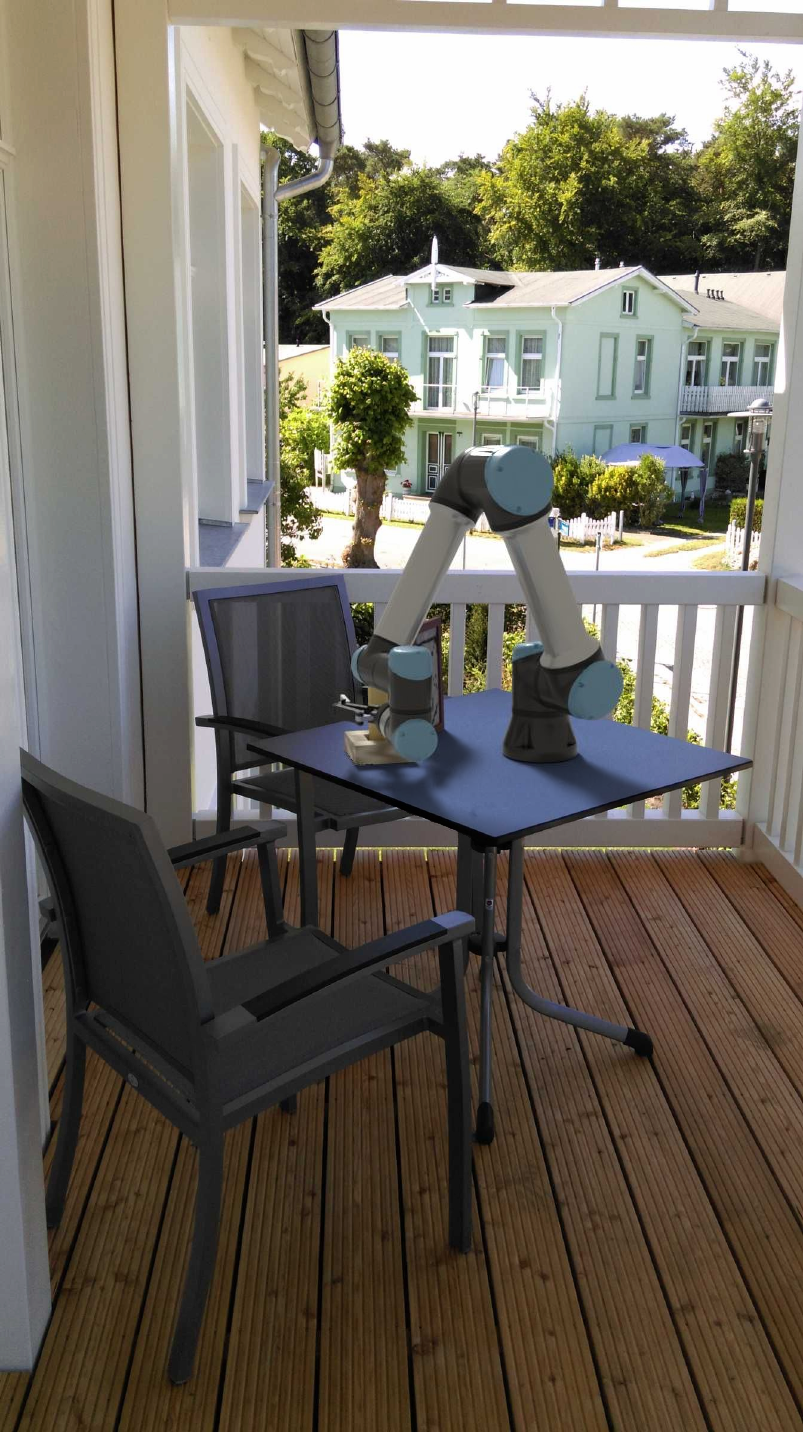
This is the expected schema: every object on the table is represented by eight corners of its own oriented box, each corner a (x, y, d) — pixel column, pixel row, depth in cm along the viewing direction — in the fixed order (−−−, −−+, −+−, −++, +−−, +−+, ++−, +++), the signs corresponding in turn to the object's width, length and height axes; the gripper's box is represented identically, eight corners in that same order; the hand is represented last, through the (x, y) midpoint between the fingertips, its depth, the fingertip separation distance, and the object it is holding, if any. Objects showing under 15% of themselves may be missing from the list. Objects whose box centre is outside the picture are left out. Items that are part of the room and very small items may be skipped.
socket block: (401, 746, 242) (401, 728, 241) (415, 761, 230) (415, 742, 229) (344, 750, 239) (344, 731, 238) (355, 765, 228) (355, 745, 227)
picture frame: (417, 746, 242) (417, 627, 236) (374, 742, 245) (372, 625, 240) (444, 729, 257) (444, 616, 251) (403, 725, 260) (402, 614, 255)
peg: (386, 752, 237) (385, 666, 233) (391, 757, 233) (389, 669, 229) (367, 754, 236) (366, 667, 232) (371, 759, 232) (369, 670, 228)
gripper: (332, 746, 213) (314, 721, 233) (463, 738, 219) (435, 714, 239) (331, 706, 212) (314, 684, 232) (463, 699, 217) (435, 678, 237)
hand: (375, 699), depth 235 cm, fingers open, 13 cm apart
